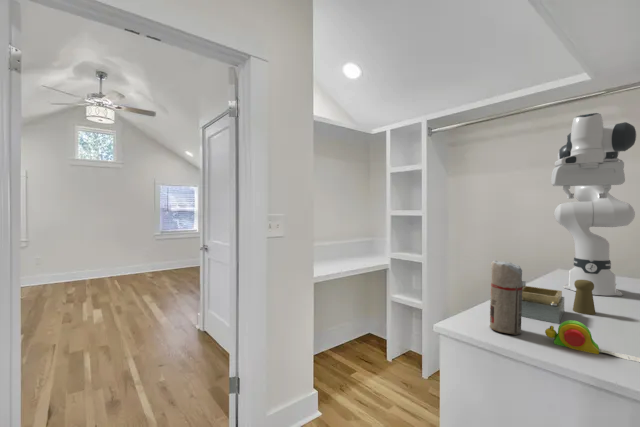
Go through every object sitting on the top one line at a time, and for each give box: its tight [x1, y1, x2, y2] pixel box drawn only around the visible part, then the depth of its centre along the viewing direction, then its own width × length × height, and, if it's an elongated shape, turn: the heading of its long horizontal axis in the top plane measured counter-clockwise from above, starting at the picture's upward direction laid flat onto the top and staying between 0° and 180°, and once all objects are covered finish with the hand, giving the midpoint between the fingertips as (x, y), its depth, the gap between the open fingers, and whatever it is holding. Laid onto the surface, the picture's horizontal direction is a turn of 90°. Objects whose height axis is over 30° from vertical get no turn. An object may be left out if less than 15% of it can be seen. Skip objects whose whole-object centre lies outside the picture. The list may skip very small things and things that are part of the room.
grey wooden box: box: [521, 280, 565, 325], centre depth 104 cm, size 16×12×9 cm
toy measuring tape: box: [544, 319, 640, 363], centre depth 76 cm, size 6×20×7 cm, turn 51°
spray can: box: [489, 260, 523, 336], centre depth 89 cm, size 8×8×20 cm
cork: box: [572, 280, 596, 316], centre depth 105 cm, size 6×6×11 cm
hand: (586, 198), depth 108 cm, fingers open, 8 cm apart
